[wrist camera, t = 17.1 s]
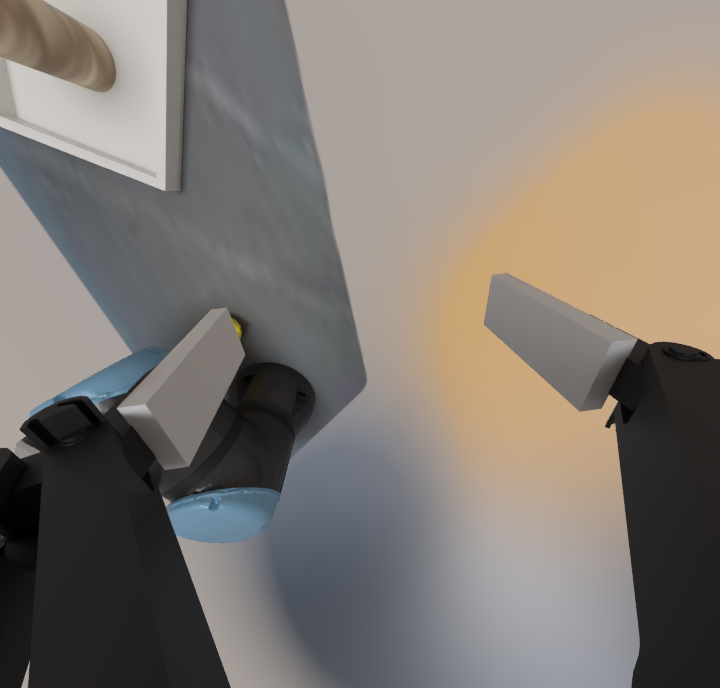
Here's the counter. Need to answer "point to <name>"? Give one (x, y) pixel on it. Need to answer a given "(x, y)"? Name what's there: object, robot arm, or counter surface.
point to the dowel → (55, 44)
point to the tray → (112, 93)
